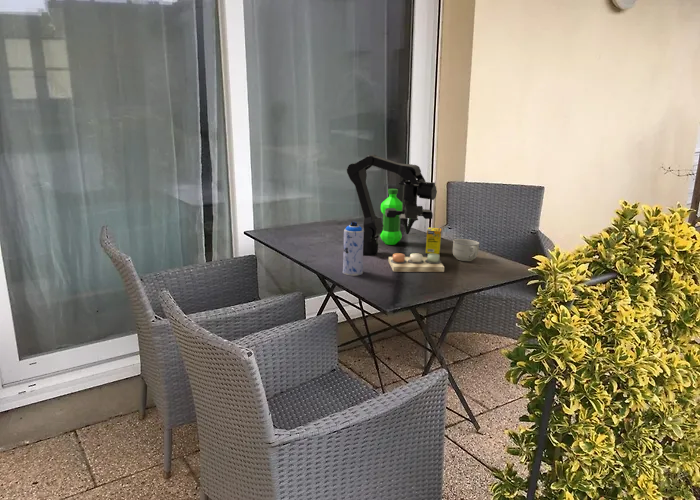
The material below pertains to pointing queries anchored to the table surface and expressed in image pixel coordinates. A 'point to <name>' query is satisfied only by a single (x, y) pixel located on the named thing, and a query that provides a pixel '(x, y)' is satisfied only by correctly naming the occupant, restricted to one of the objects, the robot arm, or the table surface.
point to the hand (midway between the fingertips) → (407, 233)
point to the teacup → (465, 249)
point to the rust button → (398, 257)
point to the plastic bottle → (391, 219)
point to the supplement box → (433, 240)
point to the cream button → (415, 257)
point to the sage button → (433, 257)
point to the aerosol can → (353, 250)
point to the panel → (416, 266)
